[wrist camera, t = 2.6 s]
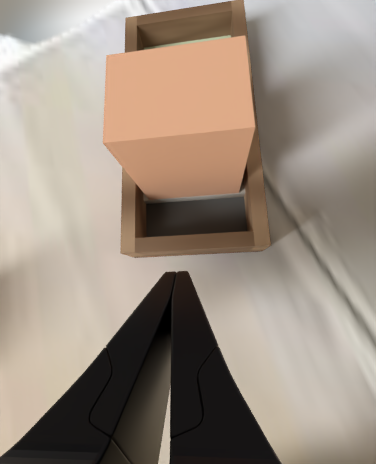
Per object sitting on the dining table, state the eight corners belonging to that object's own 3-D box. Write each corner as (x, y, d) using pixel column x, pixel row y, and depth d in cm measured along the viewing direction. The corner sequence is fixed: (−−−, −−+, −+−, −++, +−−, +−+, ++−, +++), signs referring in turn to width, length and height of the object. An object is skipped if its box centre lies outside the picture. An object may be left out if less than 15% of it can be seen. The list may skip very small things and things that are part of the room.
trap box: (262, 251, 18) (270, 245, 15) (135, 257, 19) (120, 253, 16) (239, 35, 23) (243, -1, 20) (136, 50, 24) (125, 17, 21)
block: (238, 193, 18) (255, 127, 11) (149, 199, 19) (103, 143, 11) (233, 134, 19) (245, 35, 12) (148, 143, 20) (106, 55, 12)
